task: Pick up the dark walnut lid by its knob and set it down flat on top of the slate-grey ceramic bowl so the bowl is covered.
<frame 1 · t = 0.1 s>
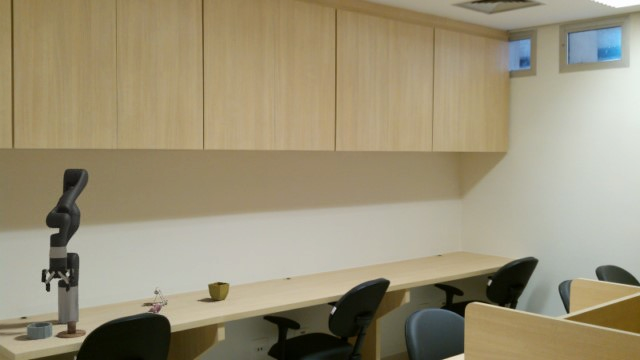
hand: (57, 291, 302), 17 cm above the table, tool pointing down, fingers open, 8 cm apart
portable electronic device stand: (160, 304, 355), on the table
video game controller: (153, 316, 328), on the table
bowl: (39, 336, 290), on the table
lid: (71, 335, 293), on the table
flower pot: (218, 300, 366), on the table
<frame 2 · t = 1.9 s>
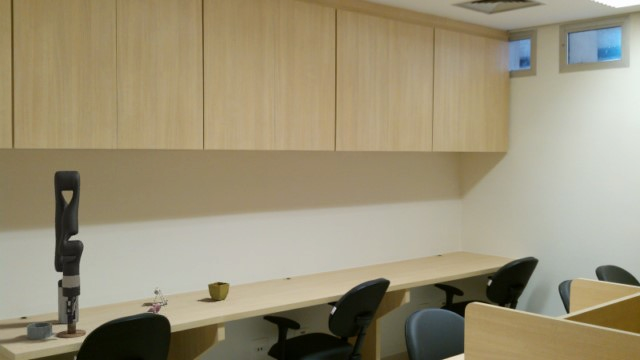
hand: (71, 321, 292), 6 cm above the table, tool pointing down, fingers open, 8 cm apart
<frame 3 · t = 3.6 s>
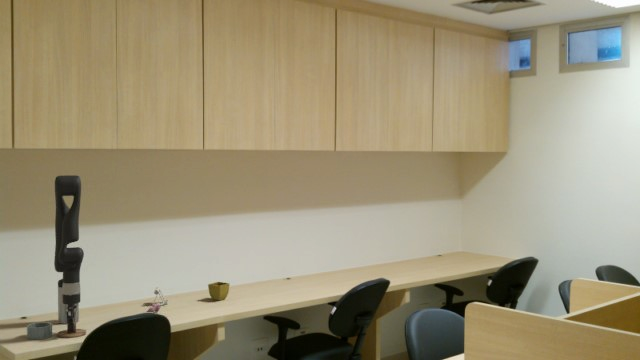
hand: (71, 330, 293), 2 cm above the table, tool pointing down, fingers closed on lid, 3 cm apart
lid: (71, 334, 293), on the table, touching gripper
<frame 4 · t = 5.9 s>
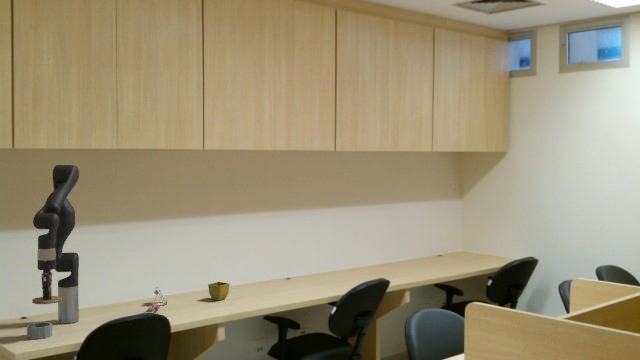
hand: (47, 297, 290), 17 cm above the table, tool pointing down, fingers closed on lid, 3 cm apart
lid: (47, 301, 290), point 15 cm above the table, touching gripper
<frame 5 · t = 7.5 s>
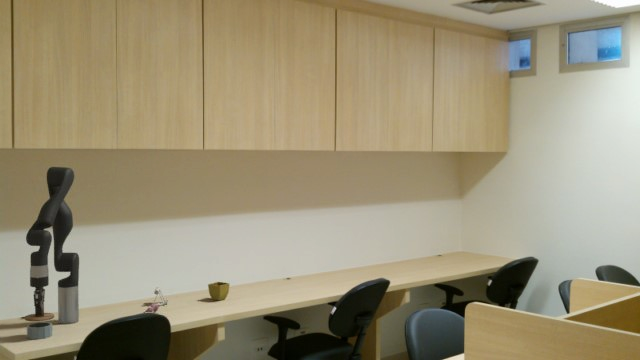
hand: (39, 314, 289), 10 cm above the table, tool pointing down, fingers closed on lid, 3 cm apart
lid: (39, 318, 289), point 8 cm above the table, touching gripper
when the fingers open (8 cm above the table, at t = 8.7 s): lid stays where it is, resting on bowl.
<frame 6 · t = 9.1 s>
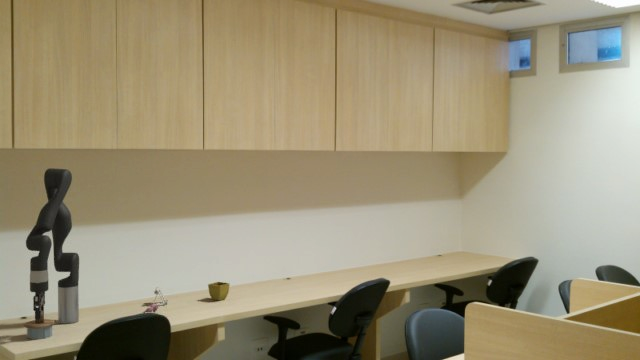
hand: (39, 317, 290), 8 cm above the table, tool pointing down, fingers open, 7 cm apart
lid: (39, 324, 290), point 5 cm above the table, touching bowl
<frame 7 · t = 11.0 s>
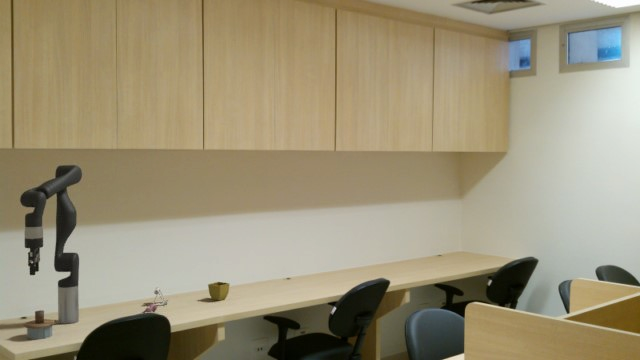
hand: (34, 273, 290), 28 cm above the table, tool pointing down, fingers open, 8 cm apart
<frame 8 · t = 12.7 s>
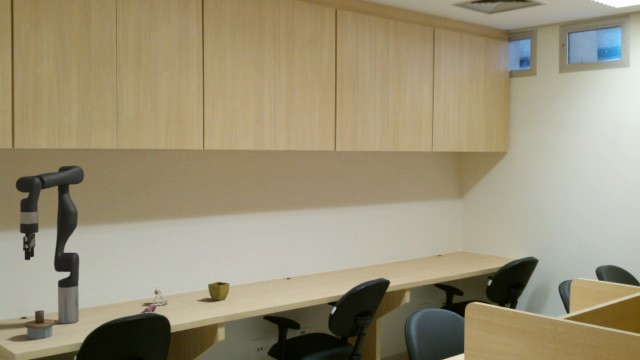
hand: (29, 258, 291), 34 cm above the table, tool pointing down, fingers open, 8 cm apart
at the end: lid 0.1 cm off-centre on the bowl, point 5.0 cm above the bowl's base; lid tilted 0°; the gripper is holding nothing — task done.
